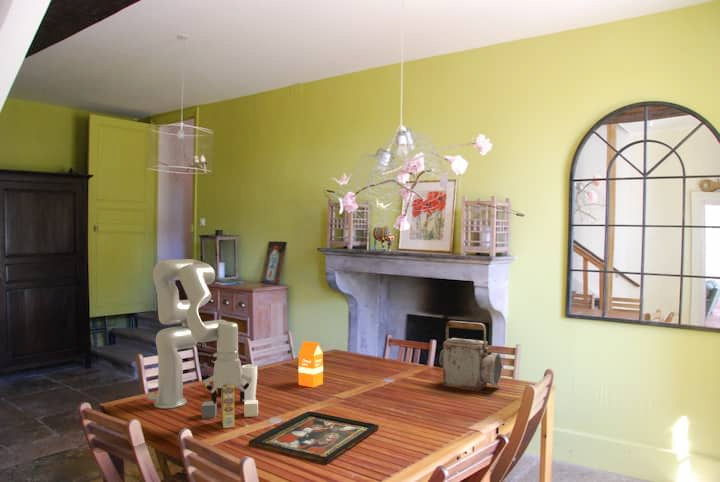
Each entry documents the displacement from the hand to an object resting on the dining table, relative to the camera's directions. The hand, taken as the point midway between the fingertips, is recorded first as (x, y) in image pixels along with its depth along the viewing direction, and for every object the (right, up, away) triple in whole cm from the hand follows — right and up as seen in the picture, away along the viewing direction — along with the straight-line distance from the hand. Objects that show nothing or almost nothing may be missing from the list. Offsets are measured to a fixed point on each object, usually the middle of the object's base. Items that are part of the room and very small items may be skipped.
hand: (228, 402), depth 200 cm
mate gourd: (-12, -8, +38) cm, 41 cm away
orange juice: (+26, -8, +55) cm, 61 cm away
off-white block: (+6, -8, +11) cm, 15 cm away
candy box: (0, -9, 0) cm, 8 cm away
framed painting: (+34, -9, -12) cm, 37 cm away
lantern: (+100, -9, +54) cm, 114 cm away
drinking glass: (+2, -8, +28) cm, 29 cm away
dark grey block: (-10, -8, +9) cm, 16 cm away
